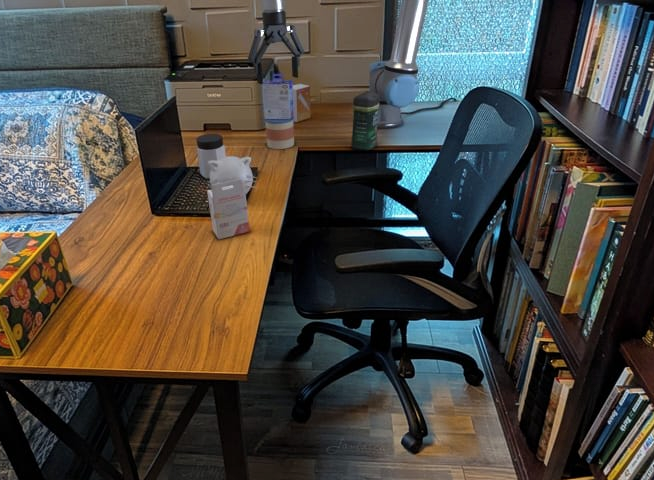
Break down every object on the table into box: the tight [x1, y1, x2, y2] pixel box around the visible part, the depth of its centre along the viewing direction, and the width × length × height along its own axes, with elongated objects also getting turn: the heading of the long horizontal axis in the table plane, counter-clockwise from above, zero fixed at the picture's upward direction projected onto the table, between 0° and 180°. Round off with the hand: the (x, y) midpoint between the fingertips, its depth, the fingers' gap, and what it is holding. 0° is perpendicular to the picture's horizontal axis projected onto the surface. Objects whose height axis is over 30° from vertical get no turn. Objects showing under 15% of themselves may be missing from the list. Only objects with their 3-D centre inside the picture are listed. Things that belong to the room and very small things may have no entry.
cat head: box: [207, 155, 260, 195], centre depth 143 cm, size 15×13×12 cm
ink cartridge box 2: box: [261, 73, 294, 120], centre depth 173 cm, size 10×6×14 cm, turn 79°
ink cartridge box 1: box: [206, 179, 250, 240], centre depth 124 cm, size 9×5×15 cm, turn 114°
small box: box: [292, 83, 311, 123], centre depth 204 cm, size 8×6×13 cm
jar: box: [195, 133, 227, 180], centre depth 158 cm, size 9×8×12 cm
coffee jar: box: [351, 90, 380, 151], centre depth 171 cm, size 10×8×19 cm
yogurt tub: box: [264, 116, 295, 150], centre depth 180 cm, size 10×10×10 cm
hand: (278, 80), depth 170 cm, fingers open, 13 cm apart
